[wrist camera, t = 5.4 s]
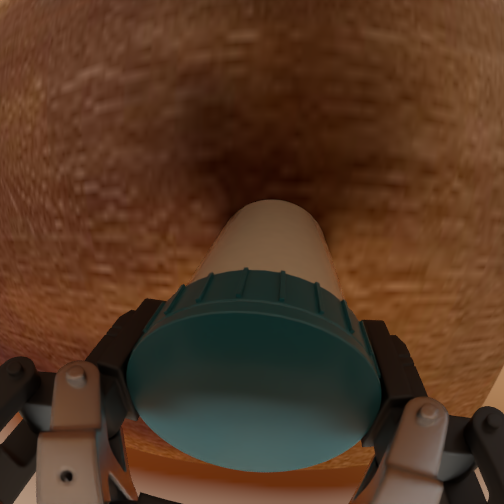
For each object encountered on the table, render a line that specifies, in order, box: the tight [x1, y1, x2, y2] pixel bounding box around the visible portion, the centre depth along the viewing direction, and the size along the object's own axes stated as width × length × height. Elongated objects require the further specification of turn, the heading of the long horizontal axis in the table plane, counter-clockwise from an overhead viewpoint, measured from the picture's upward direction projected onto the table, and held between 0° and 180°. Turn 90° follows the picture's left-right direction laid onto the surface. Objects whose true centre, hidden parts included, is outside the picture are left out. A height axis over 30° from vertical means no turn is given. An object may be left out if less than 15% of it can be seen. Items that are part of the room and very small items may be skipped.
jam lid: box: [126, 267, 381, 472], centre depth 8 cm, size 7×7×2 cm
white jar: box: [186, 200, 346, 301], centre depth 12 cm, size 6×6×11 cm
